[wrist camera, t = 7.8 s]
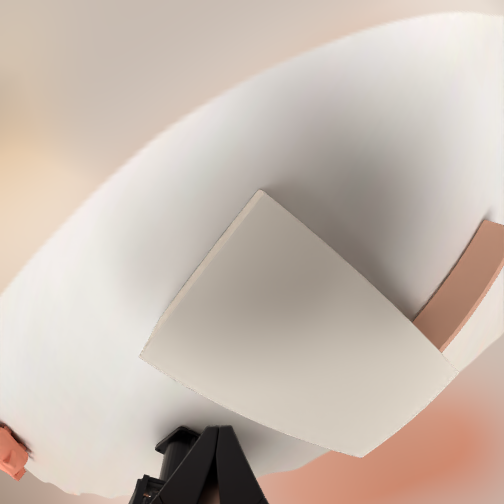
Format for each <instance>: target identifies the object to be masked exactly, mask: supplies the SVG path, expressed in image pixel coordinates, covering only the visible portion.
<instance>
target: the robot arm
mask: <svg viewBox="0 0 504 504" xmlns="http://www.w3.org/2000/svg"><path fill="white" fill-rule="evenodd" d="M155 450H156V451H157V452H159V453H162V454H164V459H163V463H162V468H161V472H160V477H159V479H157V478H153V477H150V476H149V475H145V474H144V476H143V478H142V479H138V480H137V484H136V488H135V491H134V493H133V495H132V497H131V500H130V502H129V504H269V503H268V501H267V499H266V498H265V496H264V494H263V492H262V490H261V488H260V486H259V484H258V482H257V480H256V478H255V476H254V474H253V472H252V470H251V467H250V465H249V463H248V461H247V459H246V457H245V455H244V452H243V450H242V448H241V446H240V444H239V441H238V439H237V437H236V434H235V432H234V430H233V428H232V426H231V425H222V426H220V427H219V426H207V427H206V429H205V430H204V431H203V433H202V434H201V435H199V434H197V433H195V432H193V431H191V430H189V429H187V428H185V427H179V428H178V429H176V430H175V431H174V432H173V433H172V434H170V435H169V436H168V437H167V438H165V439H164V440H163V441H162V442H160V443H159V444H158V445H157V446H156V447H155ZM149 496H151V497H149Z"/></svg>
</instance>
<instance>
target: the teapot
mask: <svg viewBox="0 0 504 504" xmlns="http://www.w3.org/2000/svg"><path fill="white" fill-rule="evenodd" d="M11 433H12V432H11V430H10V429H9V428H8V427H7V426H4V429H3V428H1V427H0V469H1V470H2V471H4V472H6V473H8V474H9V475H11V476H12V477H13V478H14V479H15V480H17V481H19V480H20V478H21V477H22V476H23V475H24V473H25V472H26V471H25V469H24V465H25V464H26V462H27V460H28V454H27V452H26V451H25V449H27V448H26V447H25V446H24V445H23V444H22V443H20V442H19V443H17V442H16V440H15V439H14V438H13V437H12V436H11Z"/></svg>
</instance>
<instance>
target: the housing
mask: <svg viewBox="0 0 504 504" xmlns="http://www.w3.org/2000/svg"><path fill="white" fill-rule="evenodd" d="M139 358H141V359H142V360H144V361H145V362H147V363H148V364H150V365H151V366H153V367H154V368H156V369H158V370H159V371H161V372H162V373H164V374H165V375H167V376H169V377H170V378H172V379H174V380H175V381H177V382H179V383H180V384H182V385H184V386H186V387H187V388H189V389H191V390H193V391H194V392H196V393H198V394H200V395H202V396H204V397H205V398H207V399H209V400H211V401H213V402H215V403H217V404H219V405H221V406H223V407H225V408H227V409H229V410H231V411H233V412H235V413H237V414H239V415H241V416H244V417H246V418H248V419H250V420H252V421H255V422H257V423H259V424H262V425H264V426H266V427H269V428H271V429H274V430H276V431H279V432H281V433H284V434H286V435H289V436H292V437H294V438H297V439H300V440H303V441H306V442H309V443H312V444H315V445H318V446H321V447H324V448H327V449H330V450H334V451H338V452H341V453H344V454H348V455H352V456H356V457H360V458H362V457H363V456H365V455H366V454H368V453H369V452H371V451H372V450H373V449H375V448H376V447H377V446H379V445H380V444H382V443H383V442H384V441H386V440H387V439H388V438H390V437H391V436H392V435H393V434H395V433H396V432H397V431H398V430H400V429H401V428H402V427H403V426H405V425H406V424H407V423H408V422H409V421H411V420H412V419H413V418H414V417H415V416H416V415H417V414H418V413H419V412H421V411H422V410H423V409H424V408H425V407H426V406H427V405H428V404H429V403H430V402H431V401H432V400H433V399H434V398H435V397H436V396H437V395H438V394H439V393H440V392H441V391H442V390H443V389H444V388H445V387H446V386H447V385H448V384H449V383H450V382H451V381H452V380H453V379H454V378H455V377H456V375H457V374H458V373H459V371H458V370H457V369H456V368H455V367H454V366H453V365H452V364H451V363H450V362H449V361H448V360H447V358H446V357H445V356H444V355H443V354H442V353H441V352H440V351H439V350H438V349H437V348H436V347H435V346H434V345H433V344H432V343H431V342H430V341H429V340H428V339H427V338H426V337H425V336H424V335H423V334H422V333H421V331H420V330H419V329H418V328H417V327H416V326H415V325H414V324H413V323H412V322H411V321H410V320H409V319H407V318H406V317H405V316H404V315H403V314H402V313H401V312H400V311H399V310H398V309H397V308H396V307H395V306H394V305H393V304H392V303H391V302H390V301H389V300H388V299H387V298H386V297H385V296H384V295H383V294H382V293H381V292H379V291H378V290H377V289H376V288H375V287H374V286H373V285H372V284H371V283H370V282H369V281H368V280H367V279H366V278H364V277H363V276H362V275H361V274H360V273H359V272H358V271H357V270H356V269H355V268H353V267H352V266H351V265H350V264H349V263H348V262H347V261H346V260H345V259H343V258H342V257H341V256H340V255H339V254H338V253H337V252H336V251H334V250H333V249H332V248H331V247H330V246H329V245H328V244H326V243H325V242H324V241H323V240H322V239H321V238H319V237H318V236H317V235H316V234H315V233H314V232H312V231H311V230H310V229H309V228H308V227H307V226H305V225H304V224H303V223H302V222H301V221H299V220H298V219H297V218H296V217H295V216H293V215H292V214H291V213H290V212H289V211H287V210H286V209H285V208H284V207H282V206H281V205H280V204H279V203H278V202H276V201H275V200H274V199H273V198H271V197H270V196H269V195H268V194H266V193H265V192H263V191H262V190H260V189H259V190H258V191H257V192H256V193H255V195H254V196H253V197H252V198H251V200H250V201H249V202H248V203H247V205H246V206H245V207H244V208H243V210H242V211H241V212H240V213H239V215H238V216H237V217H236V218H235V220H234V221H233V222H232V223H231V225H230V226H229V227H228V229H227V230H226V231H225V232H224V234H223V235H222V236H221V238H220V239H219V240H218V241H217V243H216V244H215V245H214V247H213V248H212V249H211V250H210V252H209V253H208V254H207V256H206V257H205V258H204V260H203V261H202V262H201V264H200V265H199V266H198V268H197V269H196V270H195V271H194V273H193V274H192V275H191V277H190V278H189V279H188V281H187V282H186V283H185V285H184V286H183V287H182V289H181V290H180V292H179V293H178V294H177V296H176V297H175V298H174V300H173V301H172V302H171V304H170V305H169V306H168V308H167V309H166V311H165V312H164V313H163V315H162V316H161V317H160V319H159V320H158V322H157V324H156V326H155V328H154V330H153V331H152V333H151V335H150V337H149V339H148V341H147V343H146V344H145V346H144V348H143V350H142V352H141V354H140V356H139Z"/></svg>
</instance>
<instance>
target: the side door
mask: <svg viewBox="0 0 504 504" xmlns="http://www.w3.org/2000/svg"><path fill="white" fill-rule="evenodd" d="M503 266H504V225H501V224H498V223H494V222H491V221H487V220H484V221H483V223H482V224H481V226H480V228H479V230H478V231H477V233H476V235H475V237H474V238H473V240H472V241H471V243H470V245H469V246H468V248H467V249H466V251H465V253H464V254H463V256H462V257H461V259H460V260H459V262H458V263H457V265H456V266H455V268H454V269H453V271H452V272H451V273H450V275H449V276H448V278H447V279H446V280H445V282H444V283H443V284H442V286H441V287H440V289H439V290H438V291H437V293H436V294H435V295H434V296H433V298H432V299H431V300H430V302H429V303H428V304H427V305H426V307H425V308H424V309H423V310H422V311H421V313H420V314H419V315H418V316H417V317H416V319H415V320H414V321H413V322H412V323H413V324H414V325H415V326H416V327H417V328H418V329H419V330H420V331H421V333H422V334H423V335H424V336H425V337H426V338H427V339H428V340H429V341H430V342H431V343H432V344H433V345H434V346H435V347H436V348H437V349H438V350H439V351H440V352H441V353H442V352H443V351H444V349H445V348H446V347H447V346H448V345H449V344H450V342H451V341H452V340H453V339H454V338H455V336H456V335H457V334H458V333H459V331H460V330H461V329H462V327H463V326H464V325H465V324H466V322H467V321H468V320H469V318H470V317H471V315H472V314H473V313H474V311H475V310H476V308H477V307H478V306H479V304H480V303H481V301H482V300H483V298H484V297H485V295H486V294H487V292H488V291H489V289H490V287H491V286H492V284H493V283H494V281H495V279H496V278H497V276H498V274H499V273H500V271H501V269H502V267H503Z"/></svg>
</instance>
